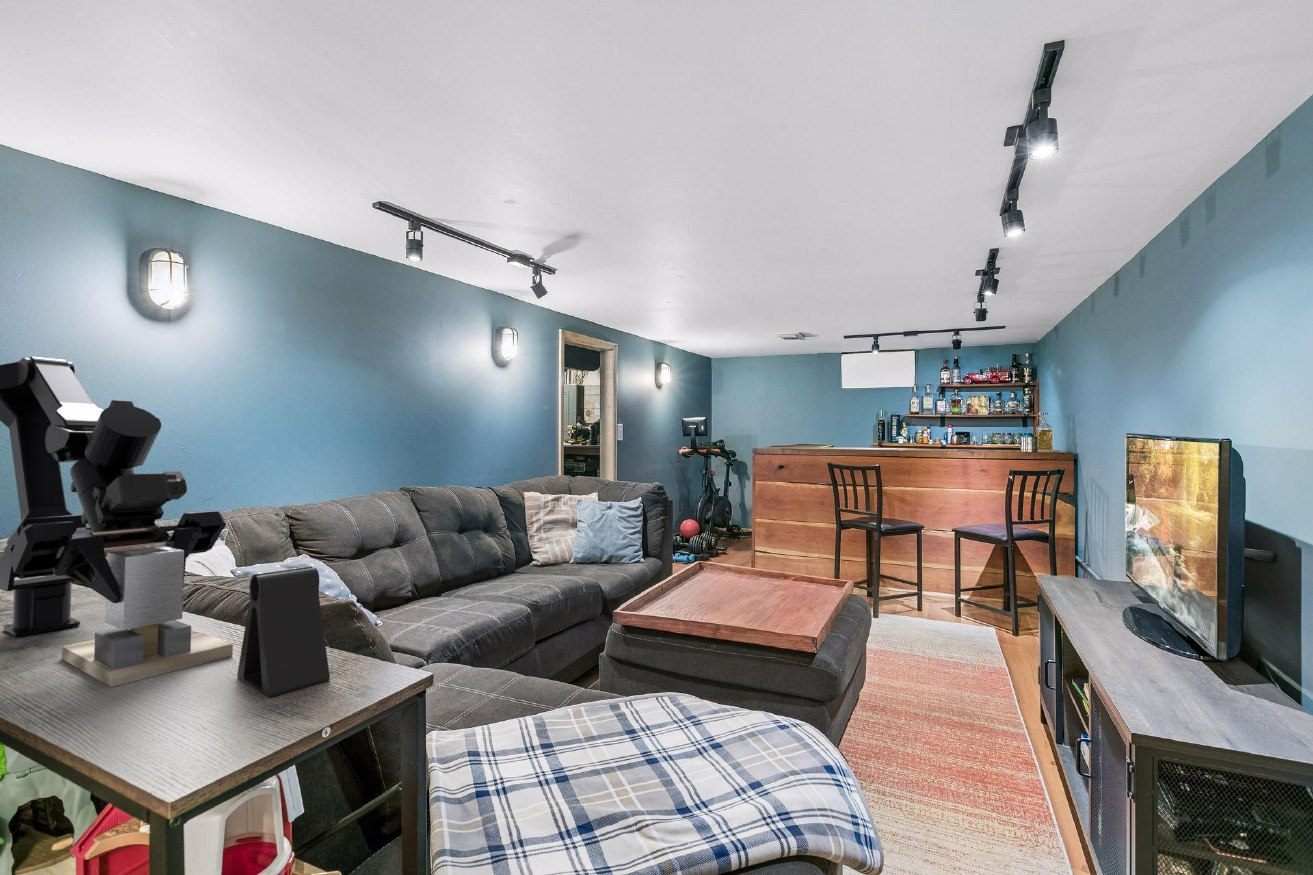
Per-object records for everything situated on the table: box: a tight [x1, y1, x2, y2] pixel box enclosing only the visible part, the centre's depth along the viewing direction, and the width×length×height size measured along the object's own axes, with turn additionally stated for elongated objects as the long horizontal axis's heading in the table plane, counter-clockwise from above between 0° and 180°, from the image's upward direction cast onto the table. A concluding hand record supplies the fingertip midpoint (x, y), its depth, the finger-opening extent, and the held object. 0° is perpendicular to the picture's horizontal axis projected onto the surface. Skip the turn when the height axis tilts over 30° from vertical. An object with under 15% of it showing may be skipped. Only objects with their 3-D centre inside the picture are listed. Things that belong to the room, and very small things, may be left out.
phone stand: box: [236, 566, 331, 699], centre depth 67 cm, size 9×6×12 cm, turn 52°
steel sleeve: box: [104, 546, 184, 630], centre depth 70 cm, size 5×5×8 cm
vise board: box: [61, 620, 234, 688], centre depth 73 cm, size 16×12×8 cm
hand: (150, 595), depth 69 cm, fingers closed on steel sleeve, 5 cm apart
